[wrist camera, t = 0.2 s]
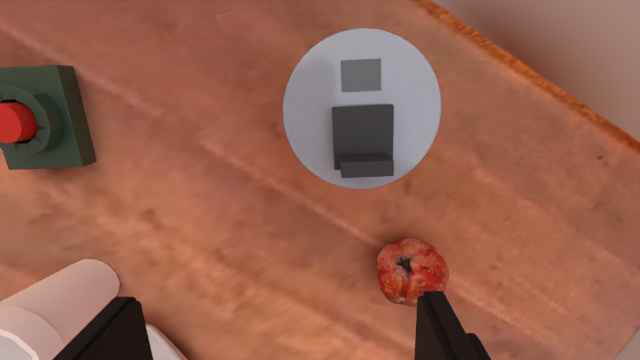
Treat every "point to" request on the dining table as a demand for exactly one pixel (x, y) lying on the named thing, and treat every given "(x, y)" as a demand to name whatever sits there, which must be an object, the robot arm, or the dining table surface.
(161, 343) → the square plate
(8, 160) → the box
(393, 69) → the travel mug
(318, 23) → the dining table surface
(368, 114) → the slider
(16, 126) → the button
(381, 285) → the pomegranate
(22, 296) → the foam cup
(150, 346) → the robot arm
